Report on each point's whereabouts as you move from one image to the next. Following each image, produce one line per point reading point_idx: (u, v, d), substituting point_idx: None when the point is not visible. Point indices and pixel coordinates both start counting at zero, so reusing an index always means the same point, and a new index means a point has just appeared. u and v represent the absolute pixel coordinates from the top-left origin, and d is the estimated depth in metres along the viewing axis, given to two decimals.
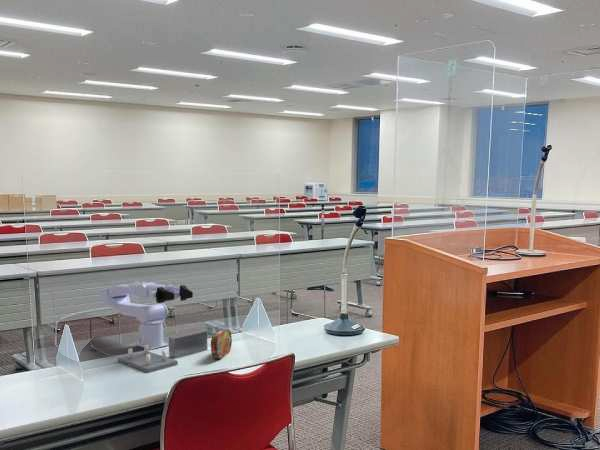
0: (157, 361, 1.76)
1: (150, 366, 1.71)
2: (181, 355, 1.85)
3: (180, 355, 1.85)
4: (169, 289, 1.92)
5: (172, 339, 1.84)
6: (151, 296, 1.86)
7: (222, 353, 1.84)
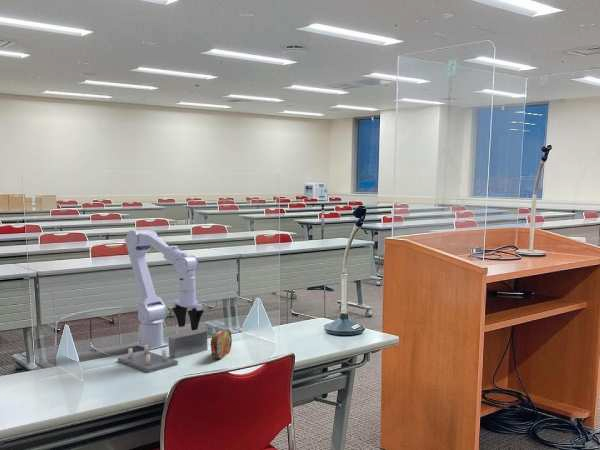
0: (157, 361, 1.76)
1: (150, 366, 1.71)
2: (181, 355, 1.85)
3: (180, 355, 1.85)
4: None
5: (172, 339, 1.84)
6: (199, 307, 1.84)
7: (222, 353, 1.84)
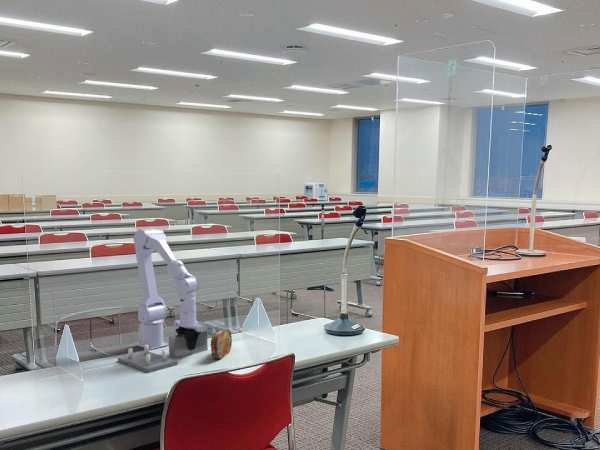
0: (157, 361, 1.76)
1: (150, 366, 1.71)
2: (181, 355, 1.85)
3: (180, 354, 1.85)
4: None
5: (172, 339, 1.84)
6: (199, 328, 1.84)
7: (222, 353, 1.84)
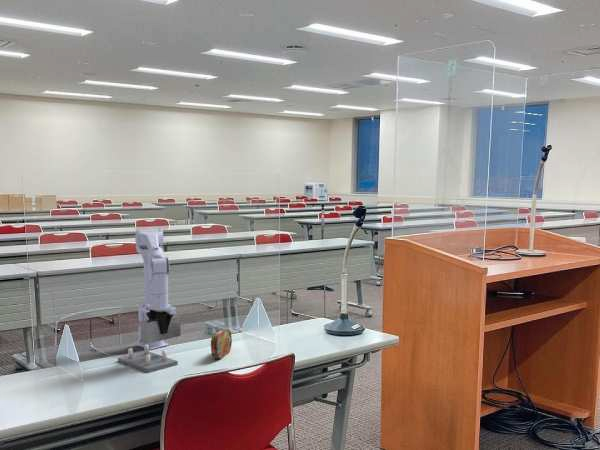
0: (157, 361, 1.76)
1: (150, 366, 1.71)
2: (154, 340, 1.78)
3: (152, 339, 1.77)
4: None
5: (144, 323, 1.76)
6: (172, 311, 1.77)
7: (222, 353, 1.84)
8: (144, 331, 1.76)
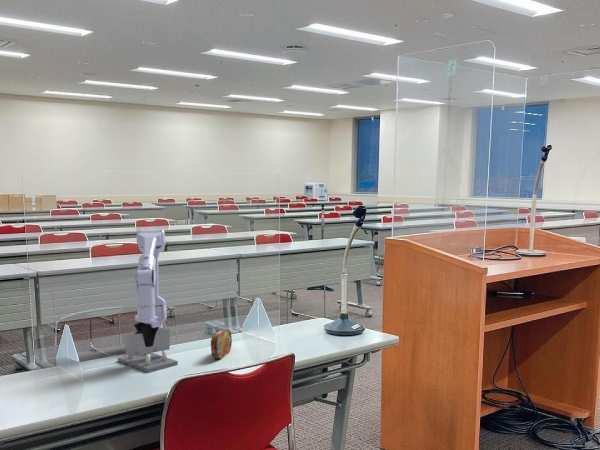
0: (157, 361, 1.76)
1: (150, 366, 1.71)
2: (137, 353, 1.75)
3: (136, 352, 1.74)
4: None
5: (128, 335, 1.74)
6: (154, 324, 1.72)
7: (222, 353, 1.84)
8: (127, 343, 1.74)
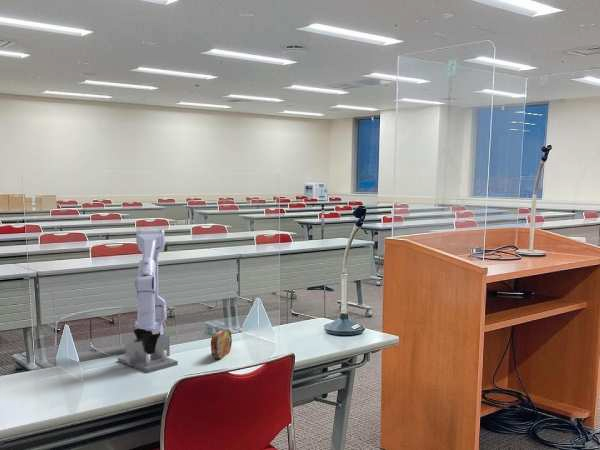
0: (157, 361, 1.76)
1: (150, 366, 1.71)
2: (138, 361, 1.75)
3: (136, 360, 1.74)
4: None
5: (128, 343, 1.74)
6: (154, 331, 1.72)
7: (222, 353, 1.84)
8: (127, 351, 1.74)
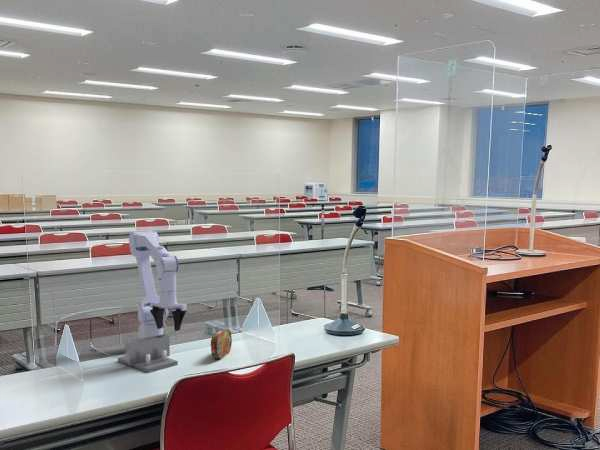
0: (157, 361, 1.76)
1: (150, 366, 1.71)
2: (138, 361, 1.75)
3: (136, 360, 1.74)
4: None
5: (128, 343, 1.74)
6: (184, 307, 1.83)
7: (222, 353, 1.84)
8: (127, 351, 1.74)
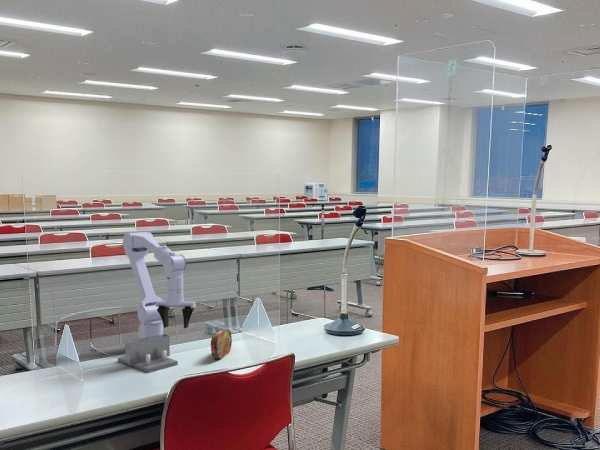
0: (157, 361, 1.76)
1: (150, 366, 1.71)
2: (138, 361, 1.75)
3: (136, 360, 1.74)
4: None
5: (128, 343, 1.74)
6: (194, 304, 1.87)
7: (222, 353, 1.84)
8: (127, 351, 1.74)
